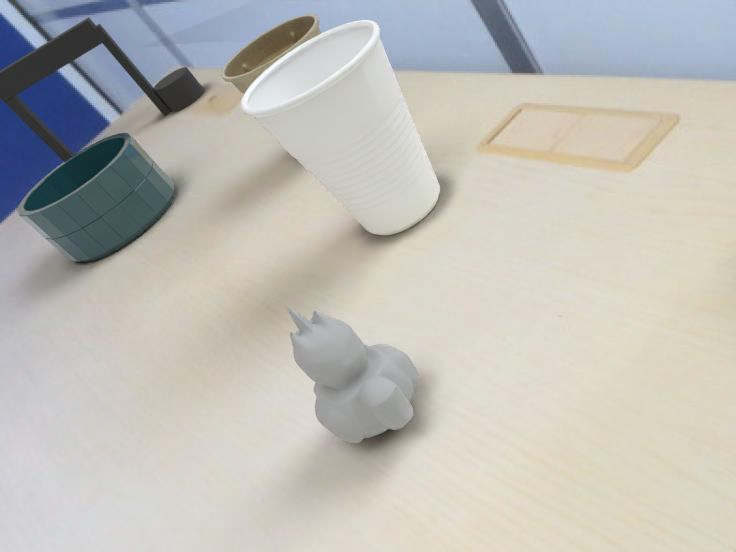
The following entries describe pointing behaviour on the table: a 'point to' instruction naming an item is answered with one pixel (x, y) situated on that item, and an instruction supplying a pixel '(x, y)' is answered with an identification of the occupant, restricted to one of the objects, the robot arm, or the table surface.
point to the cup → (349, 126)
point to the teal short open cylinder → (99, 199)
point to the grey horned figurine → (353, 378)
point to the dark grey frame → (66, 48)
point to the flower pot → (269, 50)
